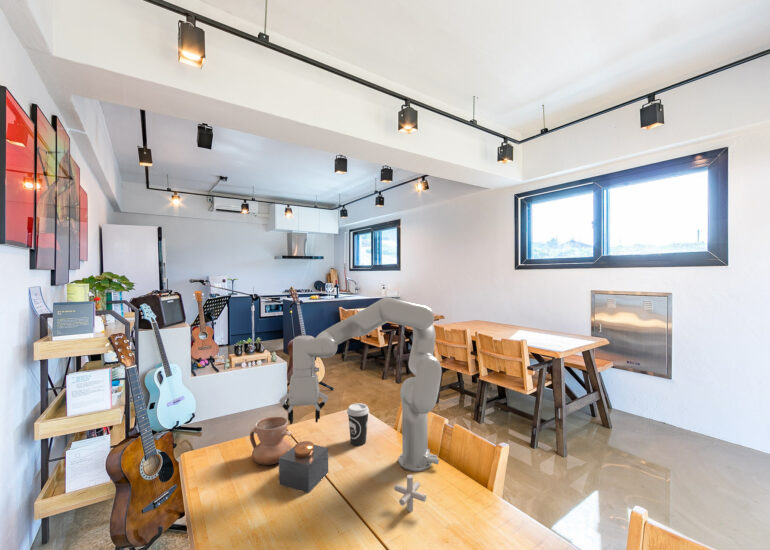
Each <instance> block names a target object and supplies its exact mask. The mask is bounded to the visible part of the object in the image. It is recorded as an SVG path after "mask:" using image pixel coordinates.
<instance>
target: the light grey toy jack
mask: <svg viewBox="0 0 770 550" xmlns="http://www.w3.org/2000/svg"><path fill="white" fill-rule="evenodd" d="M420 486H421V484H420V482H419V481H418V480H417V481H414V475H412V474H407V476H406V487H405V486H403V485H400V484H398V483H396V484H395V485H394V487H393V489H394V490H393V491H395V492H398V493H400V494H403V495H402V496H401V498H400V499H399V501H398V503H399V505H400V506H405V505H406V510H407V511H408V512H413V511H414V499H416V500H418V501H420V502H422V503H425V502H426V500H427V495H426V494H423V493H421V492H419V491H417V490H418V489H419V488H420Z"/></svg>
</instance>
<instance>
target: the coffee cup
mask: <svg viewBox="0 0 770 550" xmlns="http://www.w3.org/2000/svg"><path fill="white" fill-rule="evenodd" d="M369 413H370V409H369V406H368V405H367V404H365V403H360V402H359V403H352V404H350V405H349V406H348V408H347V410H346V414H347V415H348V416H347V417H348V425H349V427H348V428H349V438H350V444H351V445H352V444H353V446H355V445H356V446H355V447H359V446H360V445H361V446H363V444H364V445H365V444H366V443H367V434H368V432H367V431H368V422H369V421H368V420H369Z"/></svg>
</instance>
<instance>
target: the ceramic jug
mask: <svg viewBox="0 0 770 550" xmlns="http://www.w3.org/2000/svg"><path fill="white" fill-rule="evenodd" d="M288 426H289V421H288V417H284V416H269V417H263V418H261V419H258V420H257V421H256V423H255V425H254V427H253V428H252V429H251V430H250V432H249V441H250V443H251V445H252V448H253V450H252V451H251V452H252V453H251V456H252V460H253V461H254V462H255V463H257V464H259V465H264V466H265V465H266V466H269V465H272V466H273V465H275V464H276V465H277V464H279V458H280V457H281V456H282V455H284V454H285V453H286V452H288V451H289V450H290V449H292V448H293V446H292V445H291V443H290V442H289V441H288V440H287V439H284V438H285V437H286V436H288V437H290V436H291V434H292V433H293V432H292V431H291V430H288ZM255 434H256V436H257V438H258V440H259V442H260V443H258V444H257V443H256V440H255Z"/></svg>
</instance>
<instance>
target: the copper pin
mask: <svg viewBox="0 0 770 550" xmlns="http://www.w3.org/2000/svg"><path fill="white" fill-rule="evenodd" d="M314 445H315V444H314V442H312V441H309V440H305V441H300V442H297V443H296V444H295V445H294V446H295V456H296V457H299V458H305V457H309V456H311V455H312V454H313V452H314Z"/></svg>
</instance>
